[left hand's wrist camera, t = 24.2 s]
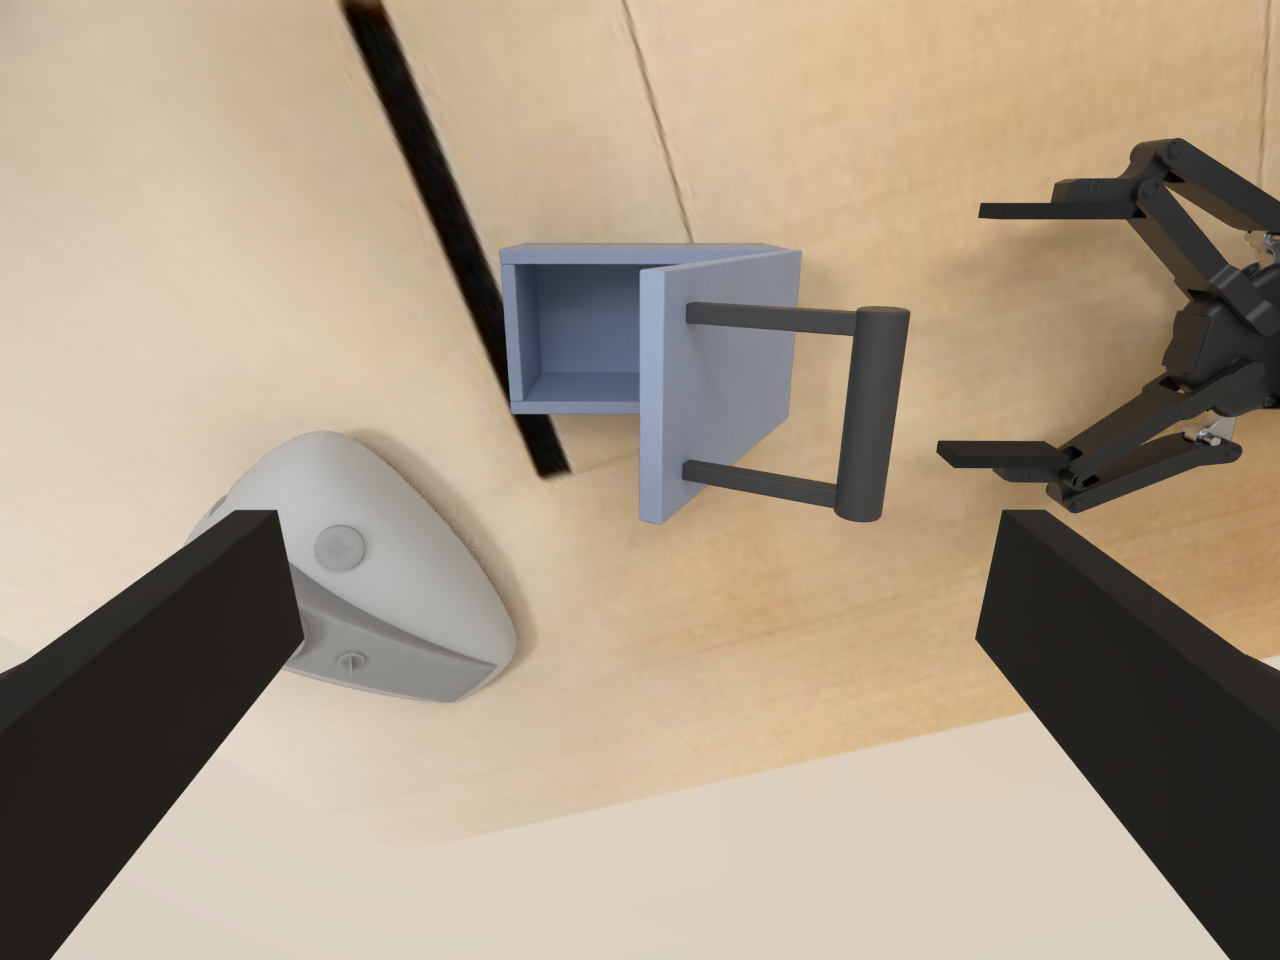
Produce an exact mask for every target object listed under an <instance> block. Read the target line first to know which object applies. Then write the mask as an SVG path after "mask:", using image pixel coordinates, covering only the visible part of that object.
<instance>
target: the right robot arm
mask: <svg viewBox="0 0 1280 960" xmlns="http://www.w3.org/2000/svg"><path fill="white" fill-rule="evenodd" d="M1130 161H1131V163H1130V165H1129V166H1128V168H1127V169H1126V171H1125V172H1124V173H1123V174H1122V175H1121V176H1119V177H1117V178H1102V179H1100V178H1095V179H1065V180H1062V181H1060V182H1057V183H1055V185H1054V190H1053V194H1052V199H1051V203H981V205H980V211H979V216H978V218H989V219H1126V220H1127V221H1128V223H1129V224H1130V225H1131V226H1132V227H1133V228H1134V230H1135V231H1136V232H1137V233H1138V234H1139V235H1140V237H1141V238H1142V239H1143V240H1144V241H1145V242H1146V244H1147V245H1148V246H1149V247H1150V248H1151V249H1152V251H1153V252H1154V253H1155V254H1156V255H1157V256H1158V258H1159V259H1160V260H1161V261H1162V262H1163V263H1164V265H1165V266H1166V267H1167V268H1168V269H1169V270H1170V272H1171V273H1172V274H1173V275H1174V276H1175V278H1176V279H1175V280H1174V282H1175V284H1176V285H1177V286H1178V287H1179V288H1180V290H1181V291H1182V292H1183V293H1184V294H1185V295H1186V297H1187V298H1188V299H1189V300H1190V302H1189V303H1188V304H1187V305H1186V306H1185V308H1184V309H1183V311H1177V314H1176V318H1175V321H1174V324H1173V339H1172V341H1171V343H1170V344H1169V346H1168V348H1167V350H1166V351H1165V354H1164V358H1163V361H1162V364H1161V365H1164V366H1166V372H1165V373H1163V374H1162V375H1160V376H1159V377H1157V378H1156V379H1154V380H1153V381H1151V382H1150V383H1148V384H1147V385H1145V386H1144V387H1143V388H1142V393H1141V394H1140V395H1139V396H1137V397H1136V398H1134V399H1132V400H1131V401H1129V402H1128V403H1126V404H1125V405H1123V406H1122V407H1120V408H1119V409H1117V410H1116V411H1114V412H1113V413H1111V414H1110V415H1108V416H1106V417H1105V418H1103V419H1102V420H1100V421H1099V422H1097V423H1096V424H1094V425H1093V426H1091V427H1090V428H1088V429H1087V430H1085V431H1083V432H1082V433H1080V434H1079V435H1077V436H1076V437H1074V438H1073V439H1071V440H1070V441H1068V442H1067V443H1065V444H1064V445H1062V446H1060V447H1059V448H1057V449H1056V448H1054V447H1053V446H1051V445H1050V444H1048V443H1046V442H1045V441H938V445H937V451H936V452H937V453H938V454H939V455H940V456H941V457H942V458H943V459H945V460H946V461H947V462H948V463H949V464H950V465H951V466H952V467H953V468H993V471H994V472H995V473H996V474H998V475H999V476H1000V477H1001V478H1003V479H1004V480H1007V481H1009V482H1042V483H1048V485H1047V487H1046V493H1047V495H1048V496H1050V497H1051V498H1052V499H1053V500H1055V501H1056V502H1057V503H1059V504H1060V505H1061V506H1063V507H1064V508H1066V509H1067V510H1068V511H1070V512H1071V513H1079V512H1082V511H1085V510H1087V509H1090V508H1092V507H1095V506H1098V505H1100V504H1103V503H1105V502H1108V501H1110V500H1113V499H1115V498H1118V497H1121V496H1123V495H1126V494H1128V493H1131V492H1133V491H1136V490H1139V489H1141V488H1144V487H1146V486H1149V485H1151V484H1154V483H1156V482H1159V481H1162V480H1164V479H1167V478H1169V477H1172V476H1174V475H1177V474H1180V473H1182V472H1185V471H1187V470H1190V469H1192V468H1195V467H1198V466H1203V465H1214V464H1224V463H1231V462H1234V461H1236V460H1237V459H1238V458H1239V457H1240V456H1241V454H1242V447H1241V446H1240V445H1238V444H1236V443H1234V442H1232V441H1231V439H1232V435H1233V430H1234V426H1235V422H1236V417H1237V416H1240V415H1243V414H1245V413H1247V412H1250V411H1253V410H1257V409H1280V202H1279V201H1278V200H1276V199H1275V198H1273V197H1272V196H1270V195H1269V194H1267V193H1266V192H1264V191H1262V190H1261V189H1259V188H1258V187H1256V186H1255V185H1253V184H1252V183H1250V182H1249V181H1247V180H1245V179H1244V178H1242V177H1241V176H1239V175H1238V174H1236V173H1235V172H1233V171H1231V170H1230V169H1228V168H1227V167H1225V166H1224V165H1222V164H1221V163H1219V162H1218V161H1216V160H1214V159H1213V158H1211V157H1210V156H1208V155H1207V154H1205V153H1204V152H1202V151H1201V150H1199V149H1197V148H1196V147H1194V146H1193V145H1191V144H1190V143H1188V142H1187V141H1185V140H1183V139H1181V138H1175V139H1164V140H1156V141H1149V142H1141V143H1139V144H1138V145H1136V146H1135V147H1134V148H1133V150H1132V152H1131V154H1130ZM1164 185H1165V186H1166V187H1168V188H1170V189H1171V190H1173V191H1174V192H1176V193H1178V194H1179V195H1181V196H1182V197H1184V198H1186V199H1187V200H1189V201H1190V202H1192V203H1194V204H1195V205H1197V206H1198V207H1200V208H1201V209H1203V210H1205V211H1206V212H1208V213H1209V214H1211V215H1213V216H1214V217H1216V218H1217V219H1219V220H1221V221H1222V222H1224V223H1225V224H1227V225H1229V226H1231V227H1233V228H1236V229H1239V230H1243V231H1248V232H1247V233H1246V234H1245V237H1244V238H1245V240H1246V241H1249V243H1250V245H1251V246H1252V247H1254V248H1256V249H1257V250H1258V251H1259V253H1260V259H1259V262H1257V263H1253V264H1251V265H1249V266H1247V267H1245V268H1243V269H1242V270H1239V269H1238V268H1235V267H1233V266H1231V265H1230V264H1229V263H1228V262H1227V261H1226V260H1225V259H1224V257H1223V256H1222V255H1221V254H1220V253H1219V251H1218V250H1217V249H1216V248H1215V247H1214V245H1213V244H1212V243H1211V242H1210V240H1209V239H1208V238H1207V237H1206V236H1205V234H1204V233H1203V232H1202V231H1201V230H1200V228H1199V227H1198V226H1197V225H1196V224H1195V222H1194V221H1193V220H1192V219H1191V217H1190V216H1189V215H1188V214H1187V213H1186V211H1185V210H1184V209H1183V208H1182V207H1181V205H1180V204H1179V203H1178V202H1177V200H1176V199H1175V198H1174V197H1173V196H1172V194H1171V193H1170V192H1169V191H1168V190H1167V188H1166V187H1165V186H1164ZM1180 389H1181V390H1183V391H1184V392H1185V394H1181V393H1179V392H1177V391H1178V390H1180ZM1204 411H1208V413H1207V415H1206V417H1205V418H1204V419H1203V420H1202V421H1201V422H1199V423H1196V424H1193V425H1185V426H1183V428H1182V429H1181V432H1182V433H1175V434H1171V435H1167V436H1164V437H1161V438H1158V439H1156V440H1153V441H1151V442H1148V443H1146V444H1143V443H1144V442H1146V441H1147V440H1149V439H1151V438H1152V437H1154V436H1155V435H1157V434H1158V433H1160V432H1162V431H1163V430H1165V429H1166V428H1168V427H1170V426H1171V425H1173V424H1174V423H1176V422H1178V421H1180V420H1187V419H1191V418H1194V417H1196V416H1198V415H1199V414H1201V413H1202V412H1204ZM1141 444H1143V445H1141ZM1139 445H1141V446H1139Z"/></svg>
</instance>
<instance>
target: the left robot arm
mask: <svg viewBox="0 0 1280 960" xmlns="http://www.w3.org/2000/svg"><path fill="white" fill-rule="evenodd" d="M304 639H305V637H304V632H303V628H302V623H301V618H300V613H299V609H298V604H297V599H296V595H295V590H294V585H293V581H292V576H291V571H290V567H289V562H288V557H287V552H286V548H285V543H284V538H283V534H282V529H281V524H280V520H279V515H278V510H234V511H233V512H231V513H230V514H229V515H227V516H226V517H224V518H223V519H222V520H220V521H219V522H218V523H216V524H215V525H213V526H212V527H211V528H209V529H208V530H206V531H205V532H204V533H202V534H201V535H200V536H198V537H197V538H195V539H194V540H193V541H191V542H190V543H189V544H187V545H186V546H184V547H183V548H182V549H180V550H179V551H177V552H176V553H175V554H173V555H172V556H171V557H169V558H168V559H166V560H165V561H164V562H162V563H161V564H159V565H158V566H157V567H155V568H154V569H153V570H151V571H150V572H148V573H147V574H146V575H144V576H143V577H142V578H140V579H139V580H137V581H136V582H135V583H133V584H132V585H130V586H129V587H128V588H126V589H125V590H124V591H122V592H121V593H119V594H118V595H117V596H115V597H114V598H113V599H111V600H110V601H108V602H107V603H106V604H104V605H103V606H101V607H100V608H99V609H97V610H96V611H95V612H93V613H92V614H90V615H89V616H88V617H86V618H85V619H84V620H82V621H81V622H79V623H78V624H77V625H75V626H74V627H72V628H71V629H70V630H68V631H67V632H66V633H64V634H63V635H61V636H60V637H59V638H57V639H56V640H55V641H53V642H52V643H50V644H49V645H48V646H46V647H45V648H43V649H42V650H41V651H39V652H38V653H37V654H35V655H34V656H32V657H31V658H30V659H28V660H27V661H25V662H23V663H21V664H19V665H17V666H15V667H13V668H11V669H9V670H7V671H5V672H3V673H1V674H0V960H50V959H51V958H52V956H53V955H54V954H55V953H56V951H57V950H58V949H59V948H60V946H61V945H62V944H63V943H64V941H65V940H66V939H67V938H68V936H69V935H70V934H71V933H72V931H73V930H74V929H75V927H76V926H77V925H78V924H79V922H80V921H81V920H82V919H83V917H84V916H85V915H86V914H87V912H88V911H89V910H90V909H91V907H92V906H93V905H94V904H95V902H96V901H97V900H98V899H99V897H100V896H101V895H102V894H103V892H104V891H105V890H106V889H107V887H108V886H109V885H110V883H111V882H112V881H113V880H114V878H115V877H116V876H117V875H118V873H119V872H120V871H121V870H122V868H123V867H124V866H125V865H126V863H127V862H128V861H129V860H130V858H131V857H132V856H133V855H134V853H135V852H136V851H137V849H138V848H139V847H140V846H141V844H142V843H143V842H144V841H145V839H146V838H147V837H148V836H149V834H150V833H151V832H152V831H153V829H154V828H155V827H156V826H157V824H158V823H159V822H160V820H161V819H162V818H163V817H164V815H165V814H166V813H167V812H168V810H169V809H170V808H171V807H172V805H173V804H174V803H175V802H176V800H177V799H178V798H179V797H180V795H181V794H182V793H183V792H184V790H185V789H186V788H187V787H188V785H189V784H190V783H191V781H192V780H193V779H194V778H195V776H196V775H197V774H198V773H199V771H200V770H201V769H202V768H203V766H204V765H205V764H206V763H207V761H208V760H209V759H210V758H211V756H212V755H213V754H214V753H215V751H216V750H217V749H218V747H219V746H220V745H221V744H222V742H223V741H224V740H225V739H226V737H227V736H228V735H229V734H230V732H231V731H232V730H233V729H234V727H235V726H236V725H237V724H238V722H239V721H240V720H241V719H242V717H243V716H244V715H245V713H246V712H247V711H248V710H249V708H250V707H251V706H252V705H253V703H254V702H255V701H256V700H257V698H258V697H259V696H260V695H261V693H262V692H263V691H264V690H265V688H266V687H267V686H268V685H269V683H270V682H271V681H272V679H273V678H274V677H275V676H276V674H277V673H278V672H279V671H280V669H281V668H282V667H283V666H284V664H285V663H286V662H287V661H288V659H289V658H290V657H291V656H292V654H293V653H294V652H295V651H296V649H297V648H298V647H299V645H300V644H301V643H302V642H303V640H304ZM975 639H976V640H977V642H978V643H979V644H980V645H981V647H982V648H983V649H984V651H985V652H986V653H987V654H988V656H989V657H990V658H991V659H992V661H993V662H994V663H995V664H996V666H997V667H998V668H999V669H1000V671H1001V672H1002V673H1003V674H1004V676H1005V677H1006V678H1007V679H1008V681H1009V682H1010V683H1011V685H1012V686H1013V687H1014V688H1015V690H1016V691H1017V692H1018V693H1019V695H1020V696H1021V697H1022V698H1023V700H1024V701H1025V702H1026V703H1027V705H1028V706H1029V707H1030V708H1031V710H1032V711H1033V712H1034V713H1035V715H1036V716H1037V717H1038V719H1039V720H1040V721H1041V722H1042V724H1043V725H1044V726H1045V727H1046V729H1047V730H1048V731H1049V732H1050V734H1051V735H1052V736H1053V737H1054V739H1055V740H1056V741H1057V742H1058V744H1059V745H1060V746H1061V747H1062V749H1063V750H1064V751H1065V753H1066V754H1067V755H1068V756H1069V757H1070V759H1071V760H1072V761H1073V763H1074V764H1075V765H1076V766H1077V768H1078V769H1079V770H1080V771H1081V773H1082V774H1083V775H1084V776H1085V778H1086V779H1087V780H1088V781H1089V783H1090V784H1091V785H1092V786H1093V788H1094V789H1095V790H1096V791H1097V793H1098V794H1099V795H1100V797H1101V798H1102V799H1103V800H1104V802H1105V803H1106V804H1107V805H1108V807H1109V808H1110V809H1111V810H1112V812H1113V813H1114V814H1115V815H1116V817H1117V818H1118V819H1119V821H1120V822H1121V823H1122V824H1123V826H1124V827H1125V828H1126V829H1127V831H1128V832H1129V833H1130V834H1131V836H1132V837H1133V838H1134V839H1135V841H1136V842H1137V843H1138V844H1139V846H1140V847H1141V848H1142V849H1143V851H1144V852H1145V853H1146V855H1147V856H1148V857H1149V858H1150V860H1151V861H1152V862H1153V863H1154V865H1155V866H1156V867H1157V868H1158V870H1159V871H1160V872H1161V873H1162V875H1163V876H1164V877H1165V878H1166V880H1167V881H1168V882H1169V883H1170V885H1171V886H1172V887H1173V889H1174V890H1175V891H1176V892H1177V894H1178V895H1179V896H1180V897H1181V899H1182V900H1183V901H1184V902H1185V904H1186V905H1187V906H1188V907H1189V909H1190V910H1191V911H1192V912H1193V914H1194V915H1195V916H1196V917H1197V919H1198V920H1199V921H1200V923H1201V924H1202V925H1203V926H1204V927H1205V929H1206V930H1207V931H1208V933H1209V934H1210V935H1211V936H1212V938H1213V939H1214V940H1215V941H1216V943H1217V944H1218V945H1219V946H1220V948H1221V949H1222V950H1223V951H1224V953H1225V954H1226V955H1227V956H1228V958H1229V959H1230V960H1280V671H1279V670H1277V669H1275V668H1273V667H1271V666H1269V665H1267V664H1265V663H1263V662H1261V661H1259V660H1257V659H1255V658H1253V657H1251V656H1249V655H1245V654H1243V653H1242V652H1241V651H1239V650H1238V649H1237V648H1235V647H1234V646H1232V645H1231V644H1230V643H1228V642H1227V641H1225V640H1224V639H1223V638H1221V637H1220V636H1219V635H1217V634H1216V633H1214V632H1213V631H1212V630H1210V629H1209V628H1208V627H1206V626H1205V625H1203V624H1202V623H1201V622H1199V621H1198V620H1196V619H1195V618H1194V617H1192V616H1191V615H1190V614H1188V613H1187V612H1185V611H1184V610H1183V609H1181V608H1180V607H1179V606H1177V605H1176V604H1174V603H1173V602H1172V601H1170V600H1169V599H1167V598H1166V597H1165V596H1163V595H1162V594H1161V593H1159V592H1158V591H1156V590H1155V589H1154V588H1152V587H1151V586H1150V585H1148V584H1147V583H1145V582H1144V581H1143V580H1141V579H1140V578H1138V577H1137V576H1136V575H1134V574H1133V573H1132V572H1130V571H1129V570H1127V569H1126V568H1125V567H1123V566H1122V565H1121V564H1119V563H1118V562H1116V561H1115V560H1114V559H1112V558H1111V557H1109V556H1108V555H1107V554H1105V553H1104V552H1103V551H1101V550H1100V549H1098V548H1097V547H1096V546H1094V545H1093V544H1091V543H1090V542H1089V541H1087V540H1086V539H1085V538H1083V537H1082V536H1080V535H1079V534H1078V533H1076V532H1075V531H1074V530H1072V529H1071V528H1069V527H1068V526H1067V525H1065V524H1064V523H1062V522H1061V521H1060V520H1058V519H1057V518H1056V517H1054V516H1053V515H1051V514H1050V513H1049V512H1047V511H1046V510H1002V515H1001V520H1000V524H999V529H998V534H997V538H996V543H995V548H994V552H993V557H992V562H991V567H990V571H989V576H988V581H987V585H986V590H985V595H984V599H983V604H982V609H981V613H980V618H979V623H978V628H977V632H976V637H975Z"/></svg>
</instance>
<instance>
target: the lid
mask: <svg viewBox="0 0 1280 960" xmlns="http://www.w3.org/2000/svg"><path fill="white" fill-rule="evenodd" d="M801 255H802V251H801V250H781V251H774V252H767V253H759V254H752V255H745V256H738V257H730V258H723V259H716V260H708V261H701V262H694V263H687V264H679V265H672V266H665V267H657V268H650V269H643V270H640V520H641V521H645V522H650V523H654V524H659V525H660V524H662V523H663V522H665V521H666V520H667V519H668V518H669V517H671V516H672V515H673V514H674V513H675V512H677V511H678V510H679V509H680V508H681V507H682V506H684V505H685V504H686V503H687V502H688V501H690V500H691V499H692V498H693V497H694V496H696V495H697V494H698V493H699V492H700V491H701V490H703V489H704V488H705V487H706V486H707V485H712V486H718V487H723V488H728V489H734V490H739V491H744V492H750V493H755V494H760V495H766V496H771V497H776V498H782V499H787V500H792V501H798V502H803V503H808V504H814V505H819V506H824V507H830V508H834V512H835V513H836V515H838V516H839V517H841V518H843V519H846V520H849V521H854V522H873V521H876V520H878V519H879V518H880V517H881V515H882V508H883V501H884V494H885V487H886V480H887V473H888V466H889V459H890V452H891V445H892V438H893V431H894V424H895V417H896V410H897V403H898V396H899V389H900V382H901V375H902V368H903V361H904V354H905V347H906V340H907V333H908V326H909V319H910V311H909V310H907V309H904V308H897V307H884V306H869V307H861V308H858V309H857V311H843V310H827V309H810V308H797V303H798V291H799V279H800V267H801ZM795 332H807V333H821V334H834V335H847V336H854V337H853V346H852V354H851V363H850V372H849V381H848V389H847V398H846V407H845V416H844V424H843V433H842V442H841V451H840V459H839V468H838V477H837V484H831V483H825V482H820V481H814V480H808V479H802V478H796V477H791V476H785V475H779V474H773V473H767V472H762V471H756V470H750V469H744V468H738V467H733V466H731V465H732V464H733V463H735V462H736V461H737V460H738V459H739V458H741V457H742V456H743V455H744V454H745V453H747V452H748V451H749V450H750V449H751V448H752V447H754V446H755V445H756V444H757V443H758V442H760V441H761V440H762V439H763V438H764V437H766V436H767V435H768V434H769V433H770V432H771V431H773V430H774V429H775V428H776V427H777V426H779V425H780V424H781V423H782V422H783V421H784V420H786V419H787V418H788V412H789V400H790V388H791V375H792V363H793V351H794V339H795Z"/></svg>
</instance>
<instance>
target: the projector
mask: <svg viewBox="0 0 1280 960" xmlns="http://www.w3.org/2000/svg"><path fill="white" fill-rule="evenodd" d="M234 510H278V515H279V520H280V524H281V529H282V534H283V538H284V543H285V548H286V552H287V557H288V562H289V567H290V571H291V576H292V581H293V585H294V590H295V595H296V599H297V604H298V609H299V613H300V618H301V623H302V628H303V632H304V637H305V639H304V640H303V642H302V643H301V644H300V645H299V647H298V648H297V649H296V651H295V652H294V653H293V654H292V656H291V657H290V658H289V659H288V661H287V662H286V663H285V664H284V666H283V667H282V668H281V669H283V670H286V671H289V672H292V673H295V674H299V675H302V676H305V677H308V678H312V679H315V680H319V681H323V682H327V683H331V684H335V685H339V686H343V687H348V688H352V689H357V690H361V691H366V692H371V693H376V694H382V695H387V696H392V697H398V698H404V699H411V700H418V701H425V702H435V703H454V702H458V701H461V700H463V699H465V698H467V697H469V696H471V695H472V694H474V693H475V692H477V691H478V690H480V689H481V688H482V687H484V686H485V685H486V684H488V683H489V682H490V681H491V680H493V679H494V678H495V677H496V676H498V675H499V674H500V673H501V672H502V671H503V670H504V669H505V668H506V667H507V666H508V665H509V663H510V662H511V661H512V659H513V657H514V654H515V651H516V647H517V634H516V630H515V627H514V625H513V622H512V620H511V618H510V616H509V614H508V612H507V610H506V608H505V606H504V604H503V602H502V600H501V599H500V597H499V595H498V594H497V592H496V590H495V588H494V587H493V585H492V583H491V582H490V580H489V579H488V577H487V576H486V574H485V573H484V571H483V570H482V568H481V567H480V565H479V564H478V562H477V561H476V560H475V558H474V557H473V556H472V554H471V553H470V551H469V550H468V549H467V548H466V546H465V545H464V544H463V542H462V541H461V540H460V539H459V537H458V536H457V535H456V534H455V533H454V532H453V530H452V529H451V528H450V527H449V526H448V524H447V523H446V522H445V521H444V520H443V519H442V518H441V516H440V515H439V514H438V513H437V512H436V511H435V510H434V509H433V508H432V507H431V506H430V504H429V503H428V502H427V501H426V500H425V499H424V498H423V497H422V496H421V495H420V494H419V493H418V492H417V491H416V490H415V489H414V488H413V487H412V486H411V485H410V484H409V483H408V482H407V481H406V480H405V479H404V478H402V477H401V476H400V475H399V474H398V473H397V472H396V471H395V470H394V469H393V468H392V467H390V466H389V465H388V464H387V463H386V462H385V461H384V460H382V459H381V458H380V457H379V456H377V455H376V454H375V453H374V452H372V451H371V450H370V449H368V448H367V447H365V446H364V445H362V444H361V443H359V442H358V441H356V440H354V439H352V438H350V437H348V436H346V435H343V434H340V433H337V432H331V431H316V432H311V433H306V434H304V435H301V436H298V437H296V438H294V439H292V440H290V441H288V442H286V443H284V444H283V445H281V446H279V447H278V448H276V449H274V450H273V451H272V452H270V453H269V454H267V455H266V456H265V457H263V458H262V459H261V460H260V461H259V462H257V463H256V464H255V465H254V466H253V467H252V468H251V469H250V470H248V471H247V472H246V473H245V474H244V475H243V476H242V477H241V478H240V479H239V480H238V481H237V482H236V483H235V484H234V485H233V486H232V488H231V489H230V491H229V493H228V494H227V495H225V496H224V497H222V498H221V499H219V500H218V501H217V502H216V503H215V504H214V505H213V507H212V508H211V509H210V510H209V511H208V512H207V513H206V514H205V515H204V517H203V518H202V519H201V520H200V521H199V523H198V524H197V525H196V527H195V528H194V529H193V531H192V532H191V534H190V535H189V537H188V539H187V540H186V542H185V544H184V546H186V545H187V544H189V543H190V542H191V541H193V540H194V539H195V538H197V537H198V536H200V535H201V534H202V533H204V532H205V531H206V530H208V529H209V528H211V527H212V526H213V525H215V524H216V523H218V522H219V521H220V520H222V519H223V518H224V517H226V516H227V515H229V514H230V513H231V512H233V511H234ZM184 546H183V547H184Z"/></svg>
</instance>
